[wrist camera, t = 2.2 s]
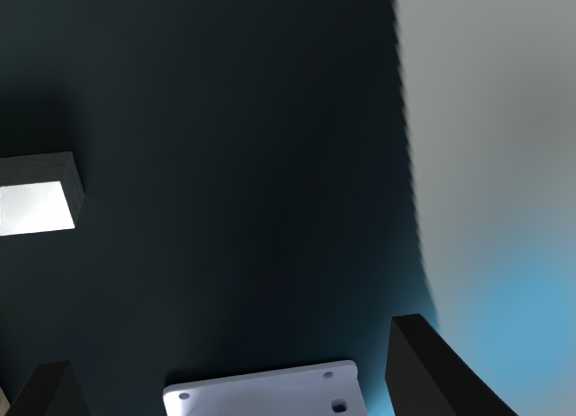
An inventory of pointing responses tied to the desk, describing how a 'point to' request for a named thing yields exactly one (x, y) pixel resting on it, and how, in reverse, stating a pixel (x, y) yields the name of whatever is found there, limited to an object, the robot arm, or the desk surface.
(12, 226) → the bar
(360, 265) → the desk surface
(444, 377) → the robot arm
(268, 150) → the desk surface
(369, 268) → the desk surface
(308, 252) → the desk surface
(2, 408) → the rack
